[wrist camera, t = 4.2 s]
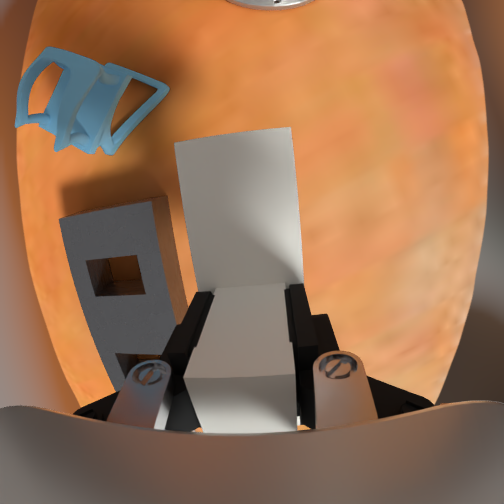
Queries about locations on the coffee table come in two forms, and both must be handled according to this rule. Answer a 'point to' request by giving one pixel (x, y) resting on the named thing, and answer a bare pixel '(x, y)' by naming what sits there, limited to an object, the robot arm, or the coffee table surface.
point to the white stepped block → (243, 277)
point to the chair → (84, 101)
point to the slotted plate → (126, 291)
